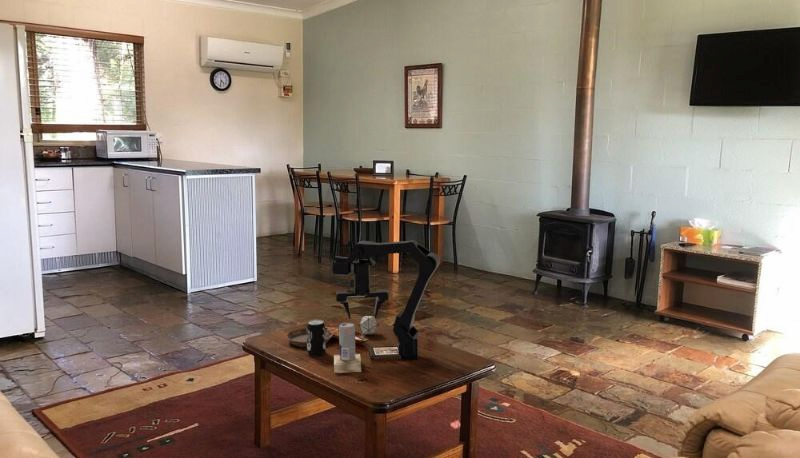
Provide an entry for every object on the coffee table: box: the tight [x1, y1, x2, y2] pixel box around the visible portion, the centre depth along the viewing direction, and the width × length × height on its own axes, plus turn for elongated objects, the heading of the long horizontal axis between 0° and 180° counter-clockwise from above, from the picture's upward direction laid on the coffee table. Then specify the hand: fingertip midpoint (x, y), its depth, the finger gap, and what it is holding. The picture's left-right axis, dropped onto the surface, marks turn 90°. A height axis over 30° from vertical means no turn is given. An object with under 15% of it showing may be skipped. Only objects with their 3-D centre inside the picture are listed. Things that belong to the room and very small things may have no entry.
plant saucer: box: [285, 327, 333, 348], centre depth 242 cm, size 18×18×3 cm
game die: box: [357, 313, 380, 336], centre depth 249 cm, size 9×8×10 cm
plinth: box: [333, 353, 362, 374], centre depth 215 cm, size 9×9×3 cm
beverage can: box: [306, 319, 326, 357], centre depth 228 cm, size 7×7×12 cm
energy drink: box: [338, 322, 356, 361], centre depth 214 cm, size 5×5×12 cm
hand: (362, 318), depth 227 cm, fingers open, 9 cm apart
